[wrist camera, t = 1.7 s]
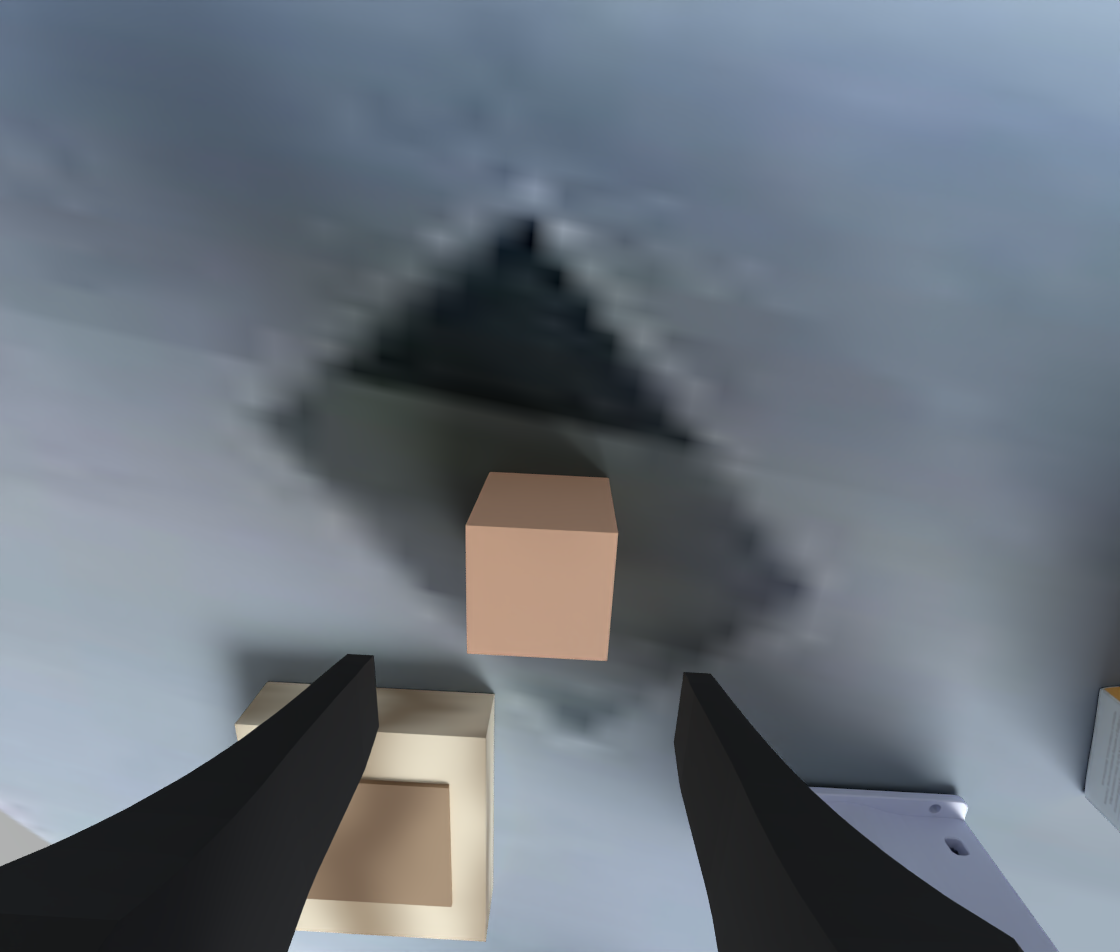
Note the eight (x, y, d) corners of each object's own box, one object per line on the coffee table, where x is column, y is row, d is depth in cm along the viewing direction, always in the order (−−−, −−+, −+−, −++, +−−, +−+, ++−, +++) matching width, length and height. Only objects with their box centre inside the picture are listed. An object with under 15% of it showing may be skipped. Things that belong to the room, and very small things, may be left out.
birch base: (494, 694, 24) (484, 742, 22) (493, 886, 28) (484, 946, 26) (267, 681, 25) (231, 727, 22) (297, 875, 28) (269, 933, 26)
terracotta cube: (608, 477, 21) (618, 533, 16) (600, 581, 23) (607, 661, 18) (489, 471, 21) (465, 525, 16) (489, 576, 23) (467, 653, 18)
